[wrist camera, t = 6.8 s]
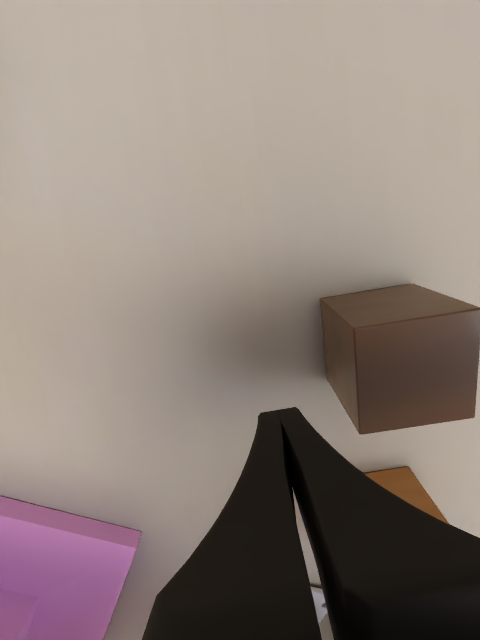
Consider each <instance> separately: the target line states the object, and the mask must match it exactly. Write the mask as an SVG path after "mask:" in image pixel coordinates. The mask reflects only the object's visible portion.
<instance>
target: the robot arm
mask: <svg viewBox="0 0 480 640" xmlns="http://www.w3.org/2000/svg"><path fill="white" fill-rule="evenodd" d="M292 487H293V489H292ZM293 490H294V494H295V497H296V500H297V503H298V506H299V509H300V513H301V516H302V519H303V522H304V525H305V528H306V532H307V535H308V538H309V541H310V544H311V548H312V551H313V554H314V558H315V561H316V565H317V568H318V573H319V577H320V581H321V586H322V589H320V588H316V587H311V586H310V582H309V578H308V573H307V569H306V565H305V560H304V556H303V551H302V547H301V542H300V538H299V533H298V529H297V524H296V515H295V506H294V498H293ZM327 612H328V616H329V620H330V625H331V629H332V634H333V638H334V640H480V538H478V537H476V536H474V535H471V534H469V533H467V532H465V531H463V530H461V529H458V528H456V527H454V526H452V525H450V524H447V523H445V522H443V521H441V520H439V519H437V518H435V517H433V516H432V515H430V514H428V513H426V512H424V511H422V510H420V509H418V508H416V507H415V506H413V505H411V504H409V503H408V502H406V501H404V500H403V499H401V498H400V497H398V496H396V495H395V494H393V493H391V492H390V491H388V490H387V489H385V488H383V487H382V486H381V485H379V484H378V483H376V482H375V481H373V480H372V479H370V478H369V477H368V476H366V475H365V474H364V473H362V472H361V471H360V470H358V469H357V468H356V467H355V466H353V465H352V464H351V463H350V462H349V461H347V460H346V459H345V458H344V457H343V456H342V455H340V454H339V453H338V452H337V451H336V450H335V449H334V448H333V447H332V446H331V445H330V444H329V443H328V442H327V441H326V440H325V439H324V438H323V437H322V436H321V435H320V434H319V433H318V432H317V431H316V430H315V429H314V428H313V427H312V426H311V424H310V423H309V422H308V421H307V420H306V419H305V417H304V416H303V415H302V413H301V412H300V411H299V409H297V408H296V407H292V408H287V409H281V410H275V411H269V412H263V413H260V415H259V416H258V425H257V430H256V434H255V437H254V441H253V444H252V447H251V450H250V453H249V456H248V459H247V461H246V464H245V466H244V469H243V471H242V473H241V476H240V478H239V480H238V482H237V484H236V486H235V488H234V490H233V492H232V494H231V496H230V498H229V500H228V501H227V503H226V505H225V507H224V508H223V510H222V512H221V513H220V515H219V517H218V518H217V520H216V521H215V523H214V524H213V526H212V527H211V529H210V530H209V532H208V533H207V534H206V536H205V537H204V539H203V540H202V541H201V543H200V544H199V545H198V547H197V548H196V550H195V551H194V552H193V554H192V555H191V556H190V558H189V559H188V560H187V561H186V563H185V564H184V565H183V566H182V567H181V568H180V570H179V571H178V572H177V573H176V574H175V575H174V577H173V578H172V579H171V580H170V581H169V582H168V584H167V585H166V586H165V587H164V588H163V589H162V590H161V591H160V593H159V594H158V595H157V597H156V599H155V602H154V605H153V608H152V610H151V613H150V616H149V619H148V623H147V626H146V629H145V632H144V635H143V638H142V640H322V638H321V633H320V628H319V624H320V622H321V621H322V619H323V618H324V616H325V615H326V613H327Z"/></svg>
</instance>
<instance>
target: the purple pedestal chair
mask: <svg viewBox="0 0 480 640" xmlns="http://www.w3.org/2000/svg"><path fill="white" fill-rule="evenodd" d="M140 536H141V531H137V530H133V529H129V528H125V527H121V526H117V525H113V524H109V523H105V522H101V521H97V520H93V519H89V518H85V517H81V516H77V515H73V514H69V513H65V512H61V511H57V510H53V509H49V508H45V507H41V506H37V505H33V504H29V503H25V502H21V501H17V500H13V499H9V498H5V497H1V496H0V640H103V638H104V636H105V633H106V630H107V627H108V625H109V622H110V619H111V617H112V614H113V611H114V609H115V606H116V603H117V600H118V598H119V595H120V592H121V590H122V587H123V584H124V582H125V579H126V576H127V573H128V571H129V568H130V565H131V563H132V560H133V557H134V555H135V552H136V549H137V546H138V543H139V539H140Z"/></svg>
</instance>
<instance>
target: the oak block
mask: <svg viewBox="0 0 480 640" xmlns="http://www.w3.org/2000/svg"><path fill="white" fill-rule="evenodd" d="M365 475H366V476H368V477H369V478H370V479H372V480H373V481H375V482H376V483H378V484H379V485H381V486H382V487H383V488H385V489H387V490H388V491H390V492H391V493H393V494H395V495H396V496H398V497H400V498H401V499H403V500H404V501H406V502H408V503H409V504H411V505H413V506H415V507H416V508H418V509H420V510H422V511H424V512H426V513H428V514H430V515H432V516H433V517H435V518H437V519H439V520H441V521H443V522H445V523H447V524H449V523H448V522H447V520H446V519H445V517H444V516H443V514H442V513H441V512H440V510H439V509H438V507H437V506H436V505H435V503H434V502H433V500H432V499H431V498H430V496H429V495H428V493H427V492H426V491H425V489H424V488H423V486H422V485H421V483H420V482H419V481H418V479H417V478H416V476H415V475H414V474H413V472H412V471H411V469H410V468H409V467H402V468H396V469H390V470H383V471H377V472H371V473H365Z"/></svg>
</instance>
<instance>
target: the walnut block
mask: <svg viewBox="0 0 480 640" xmlns="http://www.w3.org/2000/svg"><path fill="white" fill-rule="evenodd" d="M320 301H321V312H322V323H323V334H324V346H325V357H326V368H327V379H328V381H329V383H330V385H331V386H332V388H333V390H334V392H335V393H336V395H337V397H338V398H339V400H340V402H341V403H342V405H343V407H344V409H345V410H346V412H347V414H348V415H349V417H350V419H351V420H352V422H353V424H354V426H355V427H356V429H357V431H358V432H359V434H368V433H375V432H381V431H388V430H395V429H402V428H408V427H415V426H422V425H429V424H435V423H442V422H449V421H456V420H462V419H469V418H474V417H475V405H476V391H477V377H478V363H479V349H480V307H477V306H474V305H471V304H469V303H466V302H463V301H460V300H457V299H455V298H452V297H449V296H446V295H443V294H441V293H438V292H435V291H432V290H429V289H426V288H424V287H421V286H418V285H415V284H407V285H401V286H395V287H389V288H382V289H376V290H370V291H364V292H358V293H352V294H345V295H339V296H333V297H327V298H322V299H321V300H320Z"/></svg>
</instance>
